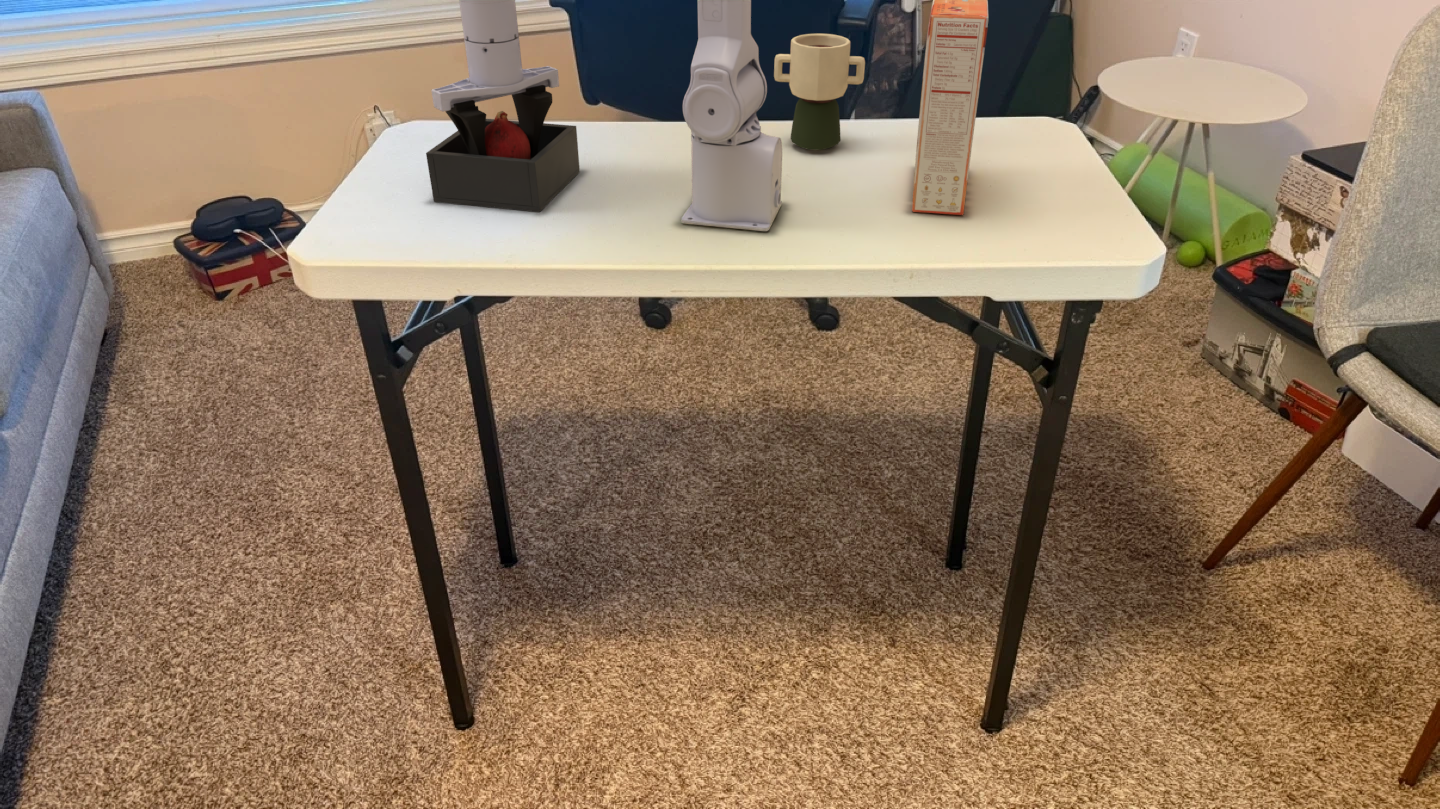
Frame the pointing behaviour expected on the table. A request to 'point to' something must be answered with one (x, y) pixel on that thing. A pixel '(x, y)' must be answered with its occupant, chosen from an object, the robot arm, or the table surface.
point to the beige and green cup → (818, 86)
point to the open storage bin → (504, 172)
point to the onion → (506, 139)
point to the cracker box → (949, 104)
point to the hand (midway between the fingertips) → (506, 161)
